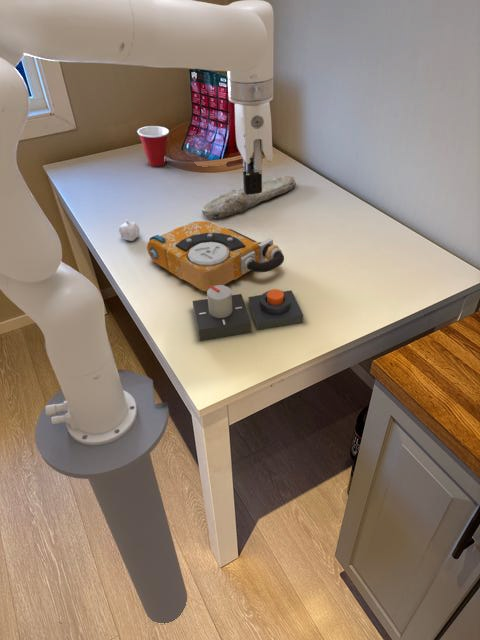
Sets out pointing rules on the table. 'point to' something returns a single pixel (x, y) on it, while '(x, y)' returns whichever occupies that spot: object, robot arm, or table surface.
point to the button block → (275, 311)
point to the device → (211, 254)
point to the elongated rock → (246, 198)
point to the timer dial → (219, 301)
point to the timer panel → (221, 320)
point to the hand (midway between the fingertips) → (252, 191)
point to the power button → (275, 297)
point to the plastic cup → (154, 143)
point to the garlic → (129, 230)
